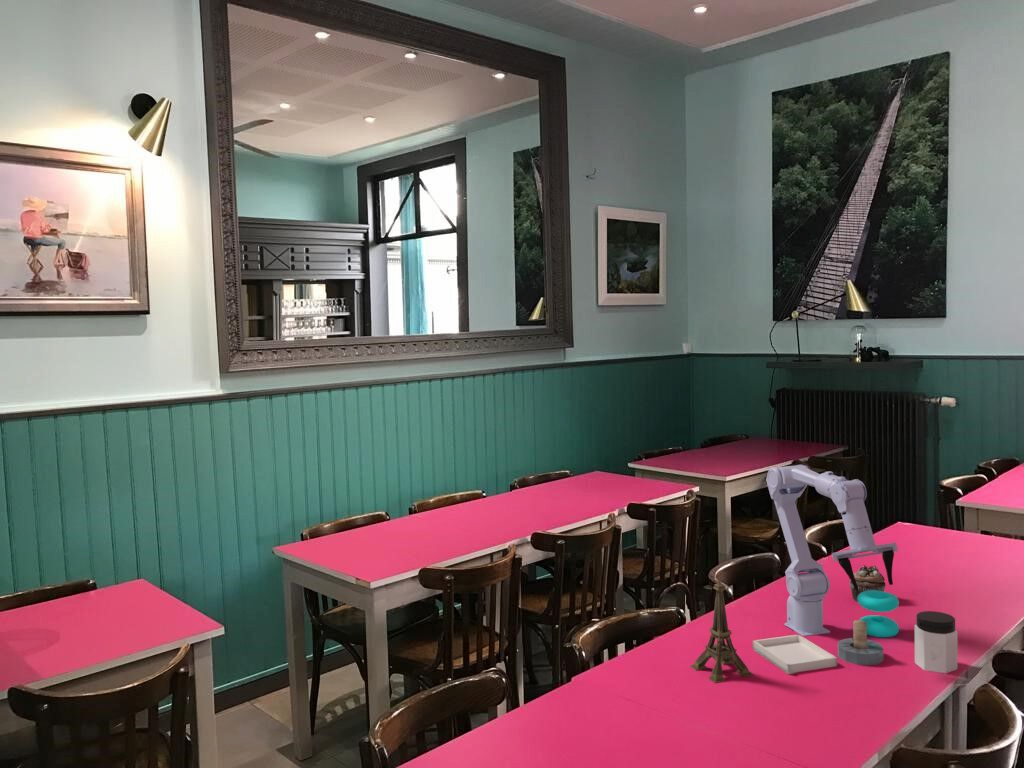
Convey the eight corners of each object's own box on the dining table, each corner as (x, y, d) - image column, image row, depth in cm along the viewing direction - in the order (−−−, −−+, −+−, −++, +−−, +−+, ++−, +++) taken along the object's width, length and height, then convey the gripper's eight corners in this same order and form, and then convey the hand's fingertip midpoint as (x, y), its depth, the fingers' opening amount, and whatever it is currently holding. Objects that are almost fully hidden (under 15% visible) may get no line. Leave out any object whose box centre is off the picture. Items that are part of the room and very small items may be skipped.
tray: (752, 649, 210) (752, 640, 210) (798, 643, 213) (798, 634, 213) (788, 674, 194) (788, 664, 194) (837, 667, 197) (837, 657, 197)
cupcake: (878, 594, 248) (878, 561, 248) (890, 605, 239) (889, 570, 238) (845, 594, 249) (845, 561, 249) (855, 605, 240) (855, 570, 239)
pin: (850, 655, 203) (850, 621, 203) (861, 653, 204) (861, 619, 203) (858, 659, 200) (858, 625, 200) (869, 658, 201) (869, 623, 201)
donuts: (853, 588, 224) (893, 589, 222) (854, 624, 224) (893, 626, 222) (861, 600, 214) (903, 601, 212) (861, 638, 215) (903, 640, 213)
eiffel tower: (689, 666, 201) (687, 564, 199) (726, 659, 205) (724, 559, 203) (715, 683, 191) (713, 576, 189) (753, 675, 195) (751, 570, 193)
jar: (913, 670, 194) (913, 619, 194) (916, 657, 201) (915, 608, 201) (956, 676, 190) (956, 625, 189) (957, 663, 197) (957, 613, 196)
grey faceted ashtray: (829, 652, 206) (829, 641, 206) (864, 647, 208) (864, 636, 208) (855, 668, 196) (855, 656, 196) (892, 662, 199) (892, 650, 198)
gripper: (826, 533, 198) (841, 591, 194) (891, 522, 194) (908, 581, 190) (827, 536, 205) (841, 592, 200) (889, 525, 200) (905, 582, 196)
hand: (873, 587), depth 195 cm, fingers open, 7 cm apart
